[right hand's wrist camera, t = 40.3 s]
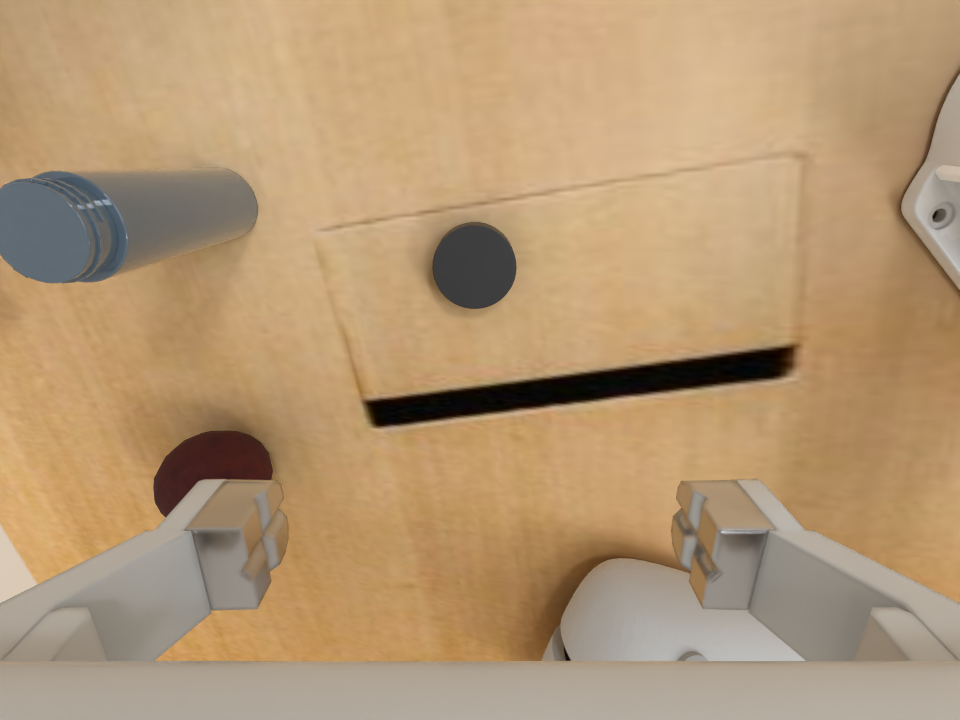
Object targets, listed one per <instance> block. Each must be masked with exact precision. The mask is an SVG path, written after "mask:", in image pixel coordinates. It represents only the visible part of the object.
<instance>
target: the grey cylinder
mask: <svg viewBox="0 0 960 720" xmlns="http://www.w3.org/2000/svg"><path fill="white" fill-rule="evenodd" d="M257 213H258V206H257V201H256V197H255V195H254V192H253V190H252V189H251V187H250V186H249V184H248V183H247V182H246V181H245V180H244V179H243V178H242V177H241V176H239V175H238V174H237V173H235V172H233V171H231V170H228V169H225V168H218V167H217V168H169V169H121V170H74V171H49V172H44V173H41V174H38V175H36V176H34V177H33V178H30V179H18V180H15V181H12V182H10V183H8V184H6V185H4V186H3V187H2V188H1V189H0V255H1V256H2V257H3V259H4V260H5V261H6V262H7V263H8V264H9V265H10V266H12V267H13V269H14V270H15V271H17V272H19V273H20V274H22V275H23V276H25V277H26V278H28V277H29V278H31V279H34V280H37V281H41V282H45V283H71V282H98V281H102V280H105V279H108V278H111V277H115V276H118V275H121V274H124V273H127V272H131V271H134V270H137V269H140V268H143V267H147V266H150V265H153V264H156V263H159V262H163V261H166V260H169V259H172V258H175V257H179V256H182V255H185V254H188V253H191V252H195V251H198V250H201V249H204V248H207V247H210V246H214V245H217V244H220V243H223V242H226V241H230V240H233V239H236V238H239V237H242V236H244V235H245V234H247V233H248V232H249V231H250V230H251V229H252V227H253V226H254V224H255V221H256V218H257Z"/></svg>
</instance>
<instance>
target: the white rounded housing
mask: <svg viewBox="0 0 960 720" xmlns="http://www.w3.org/2000/svg"><path fill="white" fill-rule="evenodd" d="M689 577H690V573H687V572H684V571H681V570H678V569H674V568H671V567H667V566H664V565H660V564H656V563H652V562H648V561H643V560H637V559H629V558H615V559H610V560H606V561H604V562H602V563H600V564H599V565H597V566H596V567H595V568H593V569H592V570H591V571H590V572H589V573H588V574H587V576H586V577H585V578H584V579H583V581H582V582H581V583H580V585H579V586H578V588H577V590H576V591H575V593H574V594H573V596H572V598H571V600H570V602H569V604H568V605H567V607H566V609H565V611H564V613H563V615H562V618H561V624H560V625H559V626H558V627H557V628H556V629H555V631H554V633H553V635H552V637H551V639H550V641H549V643H548V645H547V648H546V650H545V652H544V655H543V657H542V660H541V661H806V660H804V659H803V658H802V657H801V656H800V655H799V654H797V653H796V652H795V651H794V650H793V649H791V648H790V647H789V646H788V645H787V644H785V643H784V642H783V641H782V640H781V639H779V638H778V637H777V636H776V635H775V634H773V633H772V632H771V631H770V630H769V629H768V628H766V627H765V626H764V625H763V624H762V623H760V622H759V621H758V620H757V619H756V618H754V617H753V616H752V615H751V614H750V613H748V612H749V610H716V609H702V607H701V605H700V603H699V601H698V599H697V597H696V595H695V593H694V591H693V589H692V587H691V585H690V583H689Z"/></svg>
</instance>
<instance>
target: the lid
mask: <svg viewBox="0 0 960 720" xmlns="http://www.w3.org/2000/svg"><path fill="white" fill-rule="evenodd" d="M433 275H434V279H435V282H436V284H437V286H438V288H439V290H440V291H441V292H442V294H443V295H444V296H445V297H446V298H447V299H449V300H450V301H451V302H453V303H454V304H457V305H459V306H461V307H465V308H471V309H478V308H485V307H488V306H491V305H493V304H495V303H497V302H498V301H500V300H501V299H502V298H503V297H504V296H505V295H506V294H507V293H508V291H509V290H510V288H511V286H512V285H513V282H514V279H515V275H516V260H515V255H514V252H513V249H512V247H511V245H510V243H509V241H508V240H507V238H506V237H505V236H504V235H503V234H502V233H501V232H500V231H499V230H497V229H496V228H494V227H492V226H490V225H488V224H485V223H479V222H470V223H465V224H462V225H459V226H457V227H455V228H453V229H452V230H450V231H449V232H448V233H447V234H446V235H445V236H444V237H443V239H442V240H441V242H440V244H439V246H438V248H437V250H436V252H435V255H434V259H433Z"/></svg>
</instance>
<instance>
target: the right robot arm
mask: <svg viewBox="0 0 960 720" xmlns="http://www.w3.org/2000/svg"><path fill="white" fill-rule="evenodd" d="M936 210H937V215H936V217H935V218H934V219H932V216H933V214H934V212H935V211H936ZM901 212H902V215H903V217H904V218H905V219H906V221H907V222H908V223H909V225H910V226H911V227H912V229H913V230H914V231H915V233H916V234H917V235H918V236H919V238H920V239H921V240H922V242H923V243H924V244H925V246H926V247H927V248H928V250H929V251H930V252H931V253H932V255H933V256H934V257H935V259H936V260H937V261H938V263H939V264H940V265H941V267H942V268H943V269H944V270H945V272H946V273H947V274H948V276H949V277H950V278H951V280H952V281H953V282H954V284H955V285H956V286H957V287H958V289H959V290H960V74H959V75H958V77H957V78H956V80H955V82H954V83H953V85H952V87H951V89H950V91H949V93H948V95H947V97H946V99H945V101H944V104H943V106H942V109H941V111H940V114H939V117H938V120H937V123H936V127H935V131H934V135H933V139H932V142H931V146H930V150H929V153H928V155H927V158H926V160H925V162H924V164H923V165H922V167H921V168H920V170H919V171H918V173H917V175H916V176H915V178H914V179H913V181H912V182H911V184H910V186H909V187H908V189H907V191H906V193H905V195H904V197H903V200H902V204H901ZM283 499H284V496H283V491H282V486H281V484H280V483H279V482H278V481H277V480H239V479H229V480H227V479H204V480H201V481H198V482H197V483H196V484H195V486H194V487H193V488H192V489H191V490H190V491H189V492H188V493H187V495H186V496H185V497H184V498H183V499H182V500H181V501H180V502H179V503H178V505H177V506H176V507H175V508H174V509H173V510H172V511H171V512H170V514H169V515H168V516H167V517H166V518H165V519H164V520H163V521H162V522H161V524H160V525H159V526H158V527H157V528H156V529H155V530H154V531H144V532H142V533H140V534H138V535H136V536H134V537H132V538H130V539H128V540H126V541H124V542H122V543H120V544H118V545H116V546H114V547H112V548H110V549H108V550H106V551H104V552H102V553H100V554H98V555H96V556H94V557H92V558H90V559H88V560H86V561H84V562H82V563H80V564H78V565H76V566H74V567H72V568H70V569H68V570H66V571H64V572H62V573H60V574H58V575H56V576H54V577H52V578H50V579H48V580H46V581H44V582H42V583H40V584H38V585H36V586H34V587H32V588H30V589H28V590H26V591H24V592H22V593H20V594H18V595H16V596H14V597H12V598H10V599H8V600H6V601H4V602H2V603H0V720H960V603H958V602H956V601H954V600H952V599H950V598H948V597H946V596H944V595H942V594H940V593H938V592H936V591H934V590H932V589H930V588H928V587H926V586H924V585H922V584H920V583H918V582H916V581H914V580H912V579H910V578H908V577H906V576H904V575H902V574H900V573H898V572H896V571H894V570H892V569H890V568H888V567H886V566H884V565H882V564H880V563H878V562H876V561H874V560H872V559H870V558H868V557H866V556H864V555H862V554H860V553H858V552H856V551H854V550H852V549H850V548H848V547H846V546H844V545H842V544H840V543H838V542H836V541H834V540H832V539H830V538H828V537H826V536H824V535H822V534H820V533H818V532H816V531H806V530H805V529H804V528H803V527H802V526H801V525H800V524H799V522H798V521H797V520H796V519H795V518H794V517H793V516H792V515H791V514H790V512H789V511H788V510H787V509H786V508H785V507H784V506H783V505H782V503H781V502H780V501H779V500H778V499H777V498H776V497H775V496H774V494H773V493H772V492H771V491H770V490H769V489H768V488H767V487H766V486H765V484H764V483H763V482H761V481H759V480H757V479H737V480H711V481H681V482H680V484H679V487H678V490H677V496H676V499H677V501H678V502H679V504H680V506H681V509H680V510H679V511H678V512H677V513H676V514H675V515H674V516H673V520H672V528H671V533H672V544H673V548H674V551H675V555H676V557H677V559H678V561H679V563H680V564H681V565H682V566H683V567H685V568H686V569H688V570H689V571H690V577H689V583H690V585H691V587H692V589H693V591H694V593H695V595H696V597H697V599H698V601H699V603H700V605H701V607H702V609H716V610H749V612H748V613H750V614H751V615H752V616H753V617H754V618H756V619H757V620H758V621H759V622H760V623H762V624H763V625H764V626H765V627H766V628H768V629H769V630H770V631H771V632H772V633H773V634H775V635H776V636H777V637H778V638H779V639H781V640H782V641H783V642H784V643H785V644H787V645H788V646H789V647H790V648H791V649H793V650H794V651H795V652H796V653H797V654H799V655H800V656H801V657H802V658H803V659H804V660H806V661H154V660H156V659H157V658H158V657H159V656H160V655H162V654H163V653H164V652H165V651H166V650H168V649H169V648H170V647H171V646H172V645H174V644H175V643H176V642H177V641H178V640H180V639H181V638H182V637H183V636H184V635H186V634H187V633H188V632H189V631H190V630H191V629H193V628H194V627H195V626H196V625H197V624H199V623H200V622H201V621H202V620H203V619H205V618H206V617H207V616H208V615H209V614H211V610H243V609H258V607H259V605H260V603H261V601H262V599H263V597H264V595H265V593H266V591H267V589H268V587H269V585H270V583H271V577H270V571H271V570H272V569H274V568H275V567H277V566H278V565H279V564H280V563H281V561H282V559H283V557H284V554H285V552H286V547H287V543H288V530H289V526H288V520H287V516H286V515H285V514H284V513H283V512H282V511H281V510H280V509H279V506H280V504H281V502H282V501H283Z"/></svg>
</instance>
